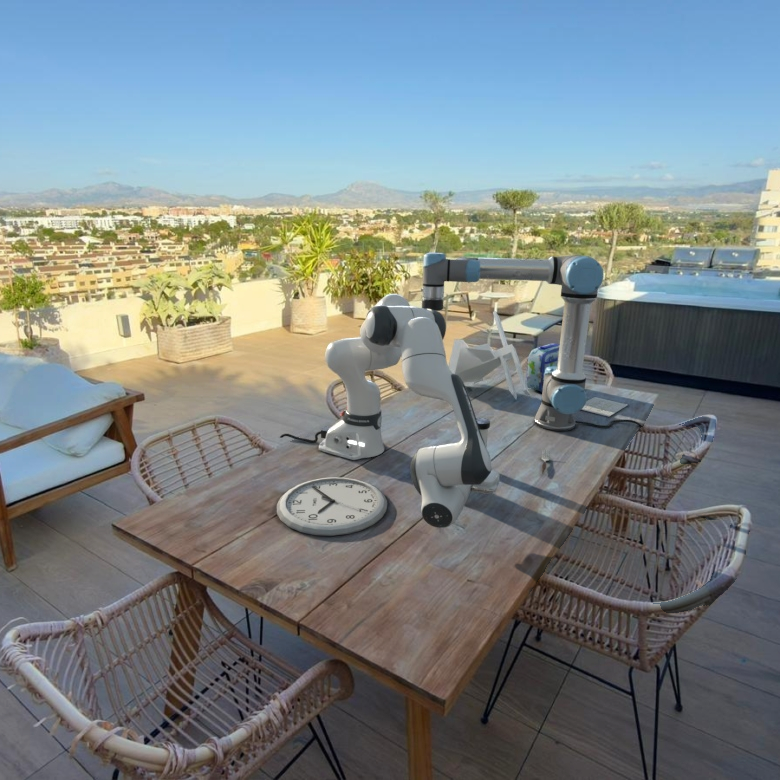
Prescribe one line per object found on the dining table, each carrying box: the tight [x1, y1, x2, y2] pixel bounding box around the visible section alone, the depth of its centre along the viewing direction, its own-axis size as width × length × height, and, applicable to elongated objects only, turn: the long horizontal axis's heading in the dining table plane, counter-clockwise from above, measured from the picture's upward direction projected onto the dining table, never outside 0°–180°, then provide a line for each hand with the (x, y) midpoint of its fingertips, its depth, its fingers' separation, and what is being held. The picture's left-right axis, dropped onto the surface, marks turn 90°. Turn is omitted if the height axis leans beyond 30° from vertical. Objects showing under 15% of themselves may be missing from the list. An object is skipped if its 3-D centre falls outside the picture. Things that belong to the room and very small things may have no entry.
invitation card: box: [580, 396, 629, 418], centre depth 226 cm, size 21×1×15 cm
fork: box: [541, 449, 551, 474], centre depth 169 cm, size 3×16×2 cm, turn 160°
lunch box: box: [525, 343, 560, 393], centre depth 249 cm, size 26×11×21 cm, turn 134°
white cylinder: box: [480, 428, 489, 449], centre depth 164 cm, size 4×4×16 cm
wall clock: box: [276, 476, 388, 537], centre depth 142 cm, size 30×2×30 cm
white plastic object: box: [448, 310, 531, 400], centre depth 245 cm, size 37×45×31 cm
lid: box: [476, 417, 491, 430], centre depth 161 cm, size 5×5×2 cm
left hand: (465, 464), depth 143 cm, fingers open, 8 cm apart
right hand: (430, 357), depth 190 cm, fingers open, 13 cm apart
